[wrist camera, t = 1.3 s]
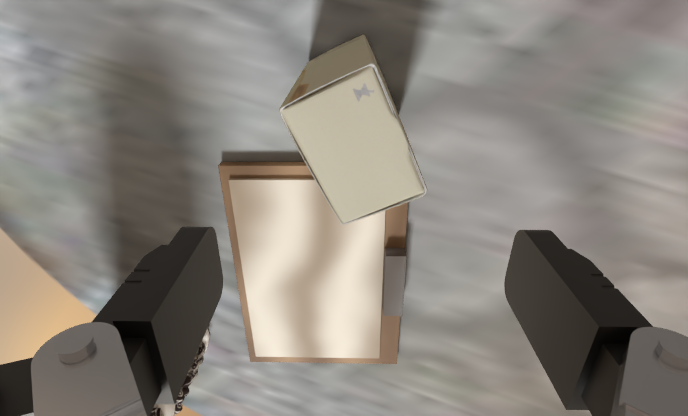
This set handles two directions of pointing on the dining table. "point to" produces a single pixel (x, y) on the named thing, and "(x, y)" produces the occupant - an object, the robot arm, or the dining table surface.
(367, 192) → the skincare box
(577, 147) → the dining table surface
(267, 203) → the clipboard
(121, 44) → the dining table surface
